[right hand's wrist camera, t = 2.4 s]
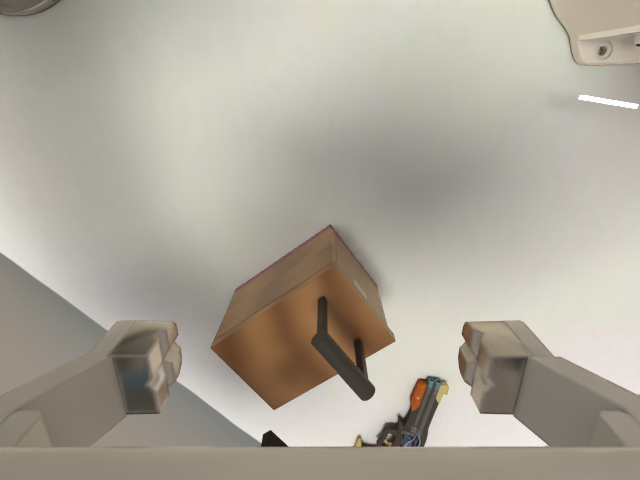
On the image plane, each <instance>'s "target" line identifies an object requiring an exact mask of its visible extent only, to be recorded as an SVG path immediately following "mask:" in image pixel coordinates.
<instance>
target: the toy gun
mask: <svg viewBox="0 0 640 480" xmlns="http://www.w3.org/2000/svg"><path fill="white" fill-rule="evenodd" d="M448 389H449V387H448V384H447V383H445V382H442V381H441V380H439V379H435V380H434V379H433V378H429V379H427V381H423V380H418V382H417V385H416V387H415V389H414V392H413V394H412V396H411V399H410V400H411V408H412V409H411V412H410V414H409V416H408V418H407V420H406V421H405V422H404V423H403V420H402V419H401V418H400V416H398V419H399V421H398V427H393V426H387V427H385V428H384V431H383V433H382V435H381V436H380V437H379V439H378V440H377V445H378V446H380V447H414V446H415V444H416V443H417V444H416V446H415V447H424V445H425V442H426V439H427V435H428V428H429V425H430V423H431V420H432V418H433V415H434V413H435V411H436V408H437V406H438V404H439V402H440V400H441V398H442V396H443V394H446V395H447V394H448ZM389 433H390V434H393V435H394V438H393V441H392V443H391V442H388V441H387V438H386V437H387V435H388V434H389ZM403 434H404V437H403ZM417 436H419V440H418V439H417ZM402 437H403V441H402V443H403V446H401V445H400V443H401V440H402ZM383 441H384V442H385V443H386V444H387V445H386V444H384V443H383ZM417 441H418V442H417ZM355 447H367V446H365V445H363V444H362V441H361V438H359V439H357V442H356V445H355Z"/></svg>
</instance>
